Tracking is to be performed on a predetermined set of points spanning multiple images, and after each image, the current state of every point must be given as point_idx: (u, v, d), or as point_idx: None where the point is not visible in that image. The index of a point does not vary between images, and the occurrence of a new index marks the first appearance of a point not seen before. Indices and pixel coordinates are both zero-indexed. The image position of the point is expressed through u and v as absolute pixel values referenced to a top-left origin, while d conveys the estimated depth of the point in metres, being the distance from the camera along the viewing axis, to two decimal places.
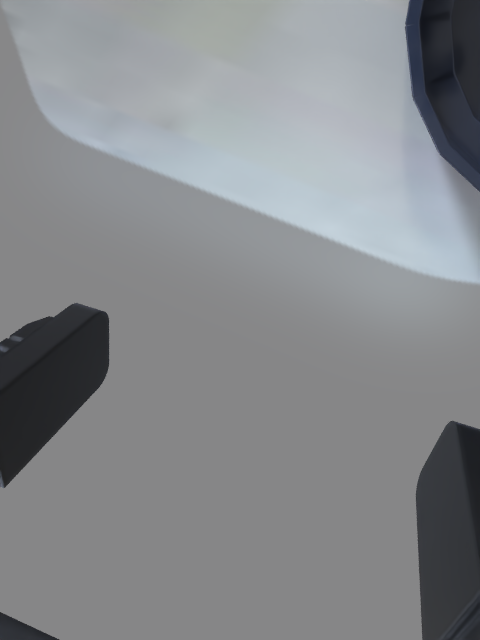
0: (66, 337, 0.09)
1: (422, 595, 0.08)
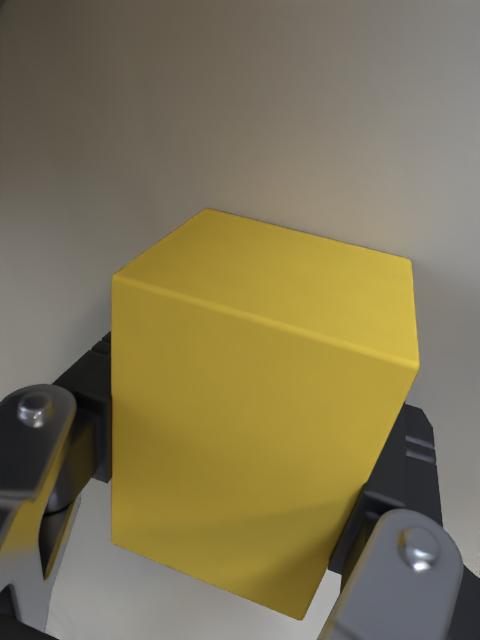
0: None
1: None
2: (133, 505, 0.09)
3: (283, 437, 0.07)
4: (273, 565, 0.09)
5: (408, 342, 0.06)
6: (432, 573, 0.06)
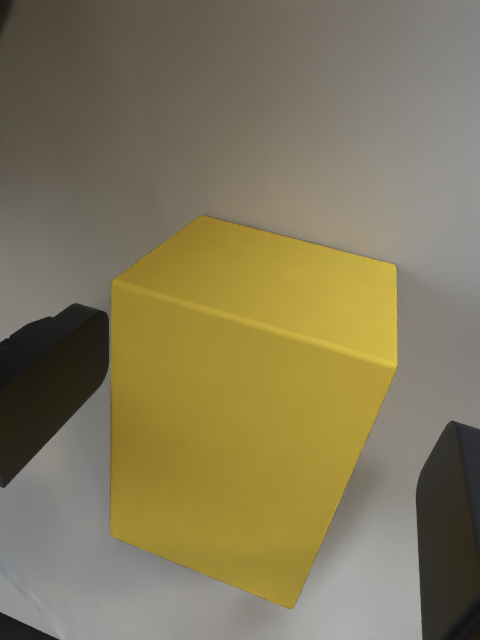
0: (66, 337, 0.09)
1: (422, 595, 0.08)
2: (131, 499, 0.10)
3: (272, 432, 0.08)
4: (265, 555, 0.09)
5: (388, 343, 0.07)
6: None
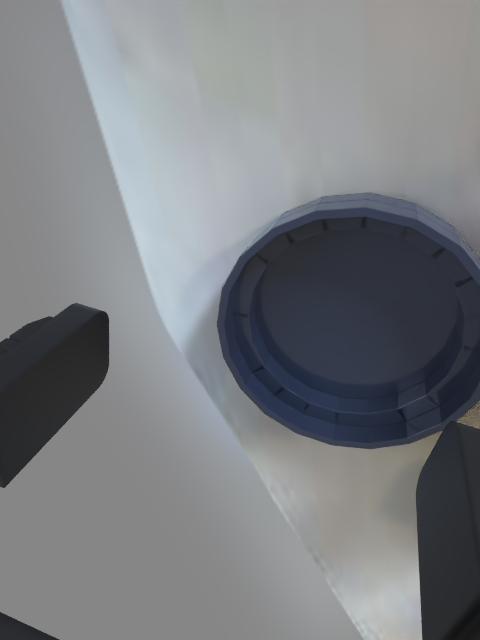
0: (66, 337, 0.09)
1: (422, 595, 0.08)
2: None
3: None
4: None
5: None
6: None
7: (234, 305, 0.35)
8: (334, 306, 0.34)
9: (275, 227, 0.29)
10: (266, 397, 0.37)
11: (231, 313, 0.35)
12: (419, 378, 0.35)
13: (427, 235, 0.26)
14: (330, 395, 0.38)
